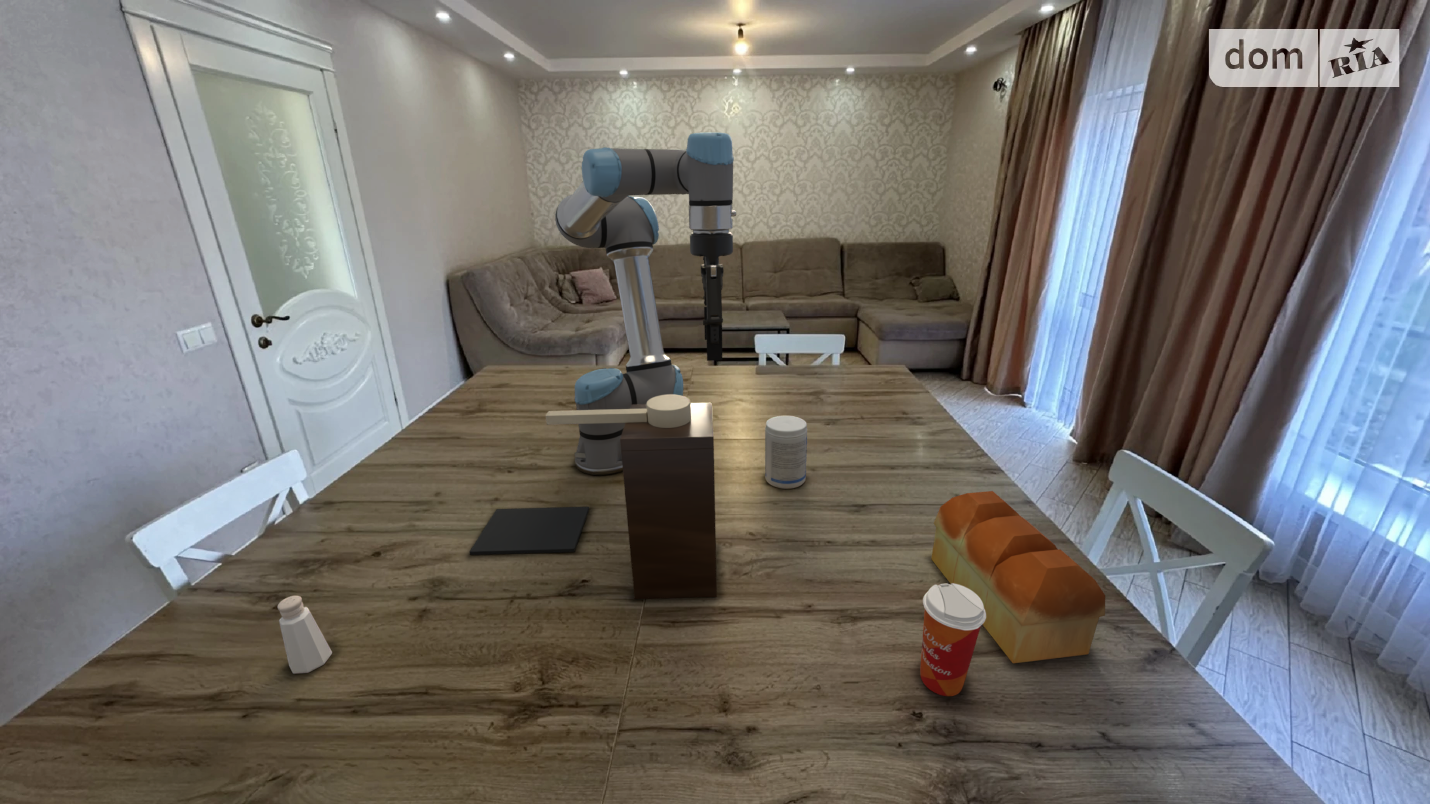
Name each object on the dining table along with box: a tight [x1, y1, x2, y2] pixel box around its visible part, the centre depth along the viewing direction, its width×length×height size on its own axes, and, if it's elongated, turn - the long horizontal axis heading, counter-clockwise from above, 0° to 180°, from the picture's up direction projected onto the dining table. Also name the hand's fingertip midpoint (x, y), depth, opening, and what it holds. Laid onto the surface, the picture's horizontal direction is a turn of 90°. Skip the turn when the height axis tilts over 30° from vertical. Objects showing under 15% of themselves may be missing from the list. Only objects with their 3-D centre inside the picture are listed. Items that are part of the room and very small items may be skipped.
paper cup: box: [919, 582, 986, 697], centre depth 74 cm, size 8×8×14 cm
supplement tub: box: [764, 415, 808, 490], centre depth 127 cm, size 10×10×15 cm
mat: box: [469, 506, 590, 556], centre depth 112 cm, size 15×20×1 cm
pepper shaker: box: [277, 595, 333, 675], centre depth 80 cm, size 5×5×11 cm
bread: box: [930, 490, 1106, 664], centre depth 88 cm, size 25×12×15 cm, turn 7°
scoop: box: [545, 394, 692, 428], centre depth 88 cm, size 7×23×3 cm, turn 91°
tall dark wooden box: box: [620, 402, 718, 600], centre depth 94 cm, size 14×14×30 cm
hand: (713, 349), depth 104 cm, fingers open, 13 cm apart
